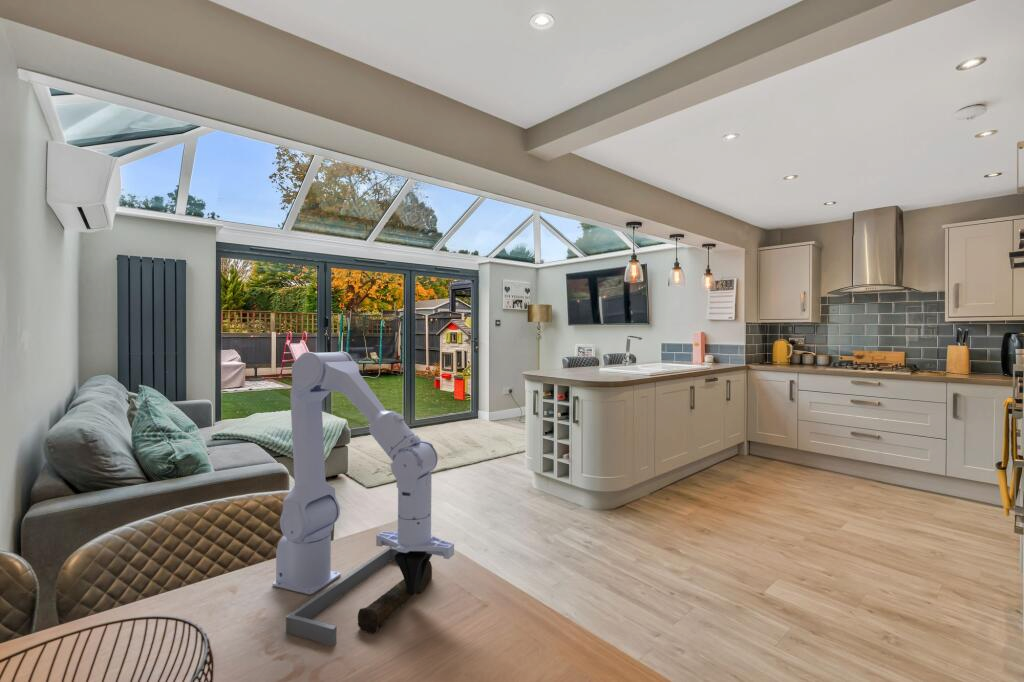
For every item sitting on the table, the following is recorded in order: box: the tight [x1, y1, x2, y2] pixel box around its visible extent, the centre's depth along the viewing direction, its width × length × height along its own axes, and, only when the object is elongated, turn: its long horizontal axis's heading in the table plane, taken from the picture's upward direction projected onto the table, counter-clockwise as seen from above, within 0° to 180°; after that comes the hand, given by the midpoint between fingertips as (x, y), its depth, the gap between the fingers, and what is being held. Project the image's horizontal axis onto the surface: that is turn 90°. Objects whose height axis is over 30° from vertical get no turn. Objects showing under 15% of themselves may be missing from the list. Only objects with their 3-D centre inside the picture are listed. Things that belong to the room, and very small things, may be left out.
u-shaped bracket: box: [285, 546, 398, 647], centre depth 86 cm, size 9×28×2 cm, turn 159°
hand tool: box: [357, 560, 433, 635], centre depth 83 cm, size 19×4×5 cm, turn 155°
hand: (414, 592), depth 82 cm, fingers closed
